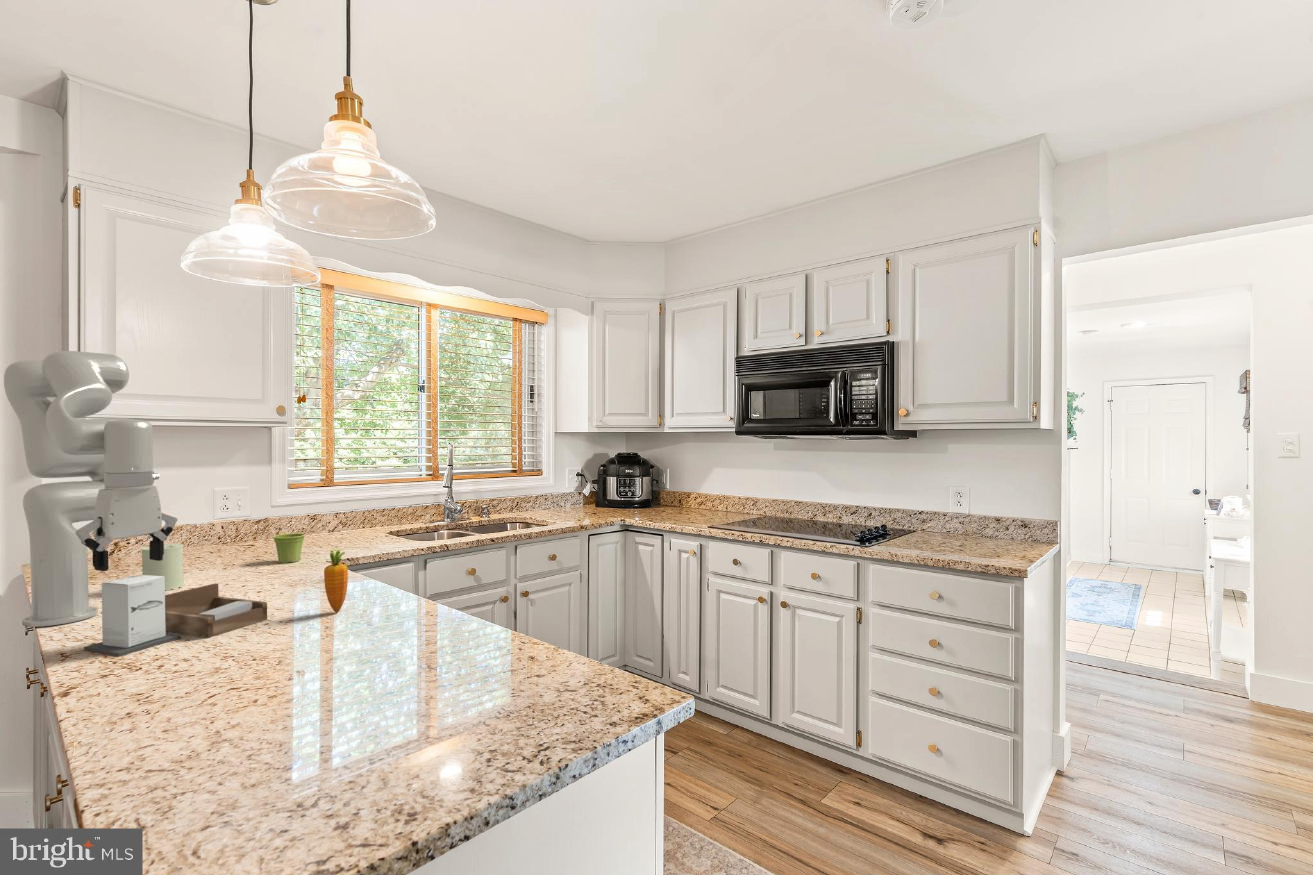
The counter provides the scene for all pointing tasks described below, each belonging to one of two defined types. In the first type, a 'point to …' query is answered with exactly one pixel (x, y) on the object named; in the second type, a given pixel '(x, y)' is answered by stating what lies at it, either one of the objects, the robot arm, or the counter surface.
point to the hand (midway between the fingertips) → (129, 564)
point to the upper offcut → (228, 610)
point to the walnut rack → (192, 602)
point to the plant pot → (289, 547)
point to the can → (166, 565)
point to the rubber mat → (122, 651)
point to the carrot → (336, 581)
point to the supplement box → (133, 610)
